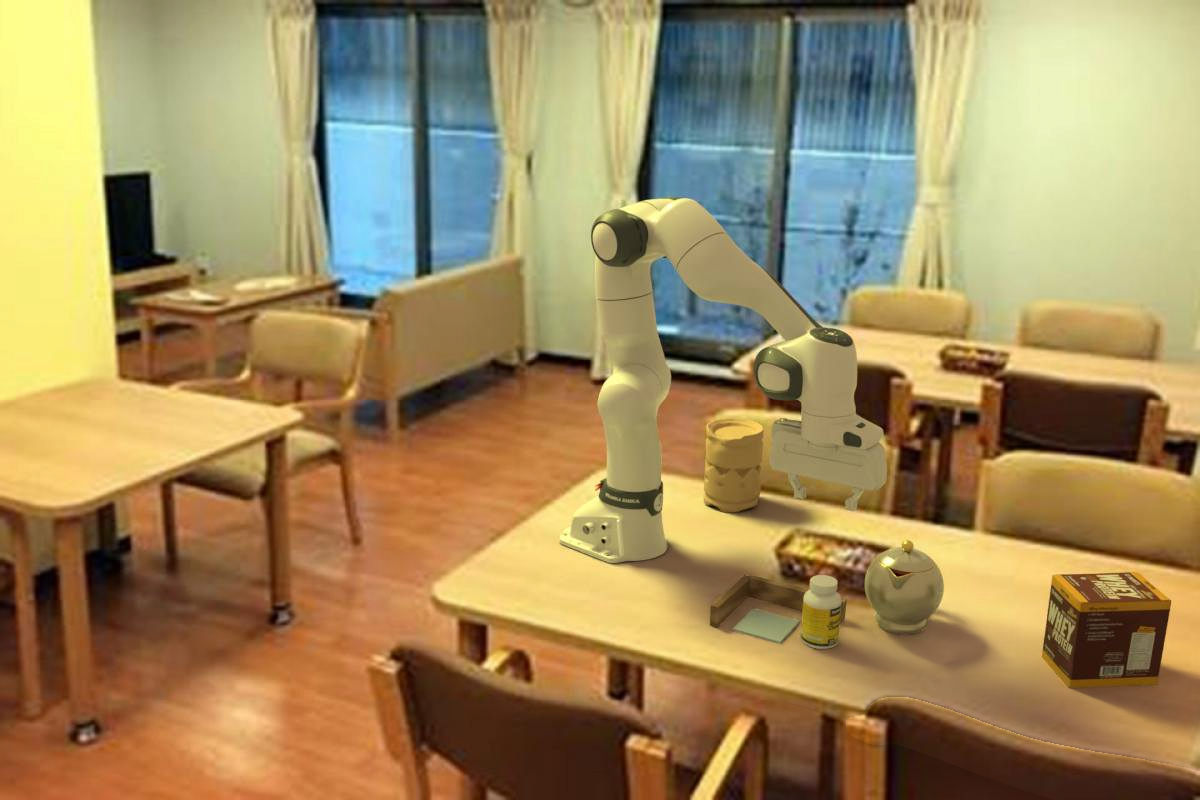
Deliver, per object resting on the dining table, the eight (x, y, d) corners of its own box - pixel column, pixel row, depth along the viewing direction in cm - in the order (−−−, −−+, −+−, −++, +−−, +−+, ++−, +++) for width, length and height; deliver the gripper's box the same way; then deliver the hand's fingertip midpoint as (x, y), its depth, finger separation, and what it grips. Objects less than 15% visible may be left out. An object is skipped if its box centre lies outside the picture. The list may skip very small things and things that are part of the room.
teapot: (930, 651, 202) (939, 564, 198) (852, 634, 208) (859, 549, 203) (949, 608, 218) (958, 526, 213) (876, 593, 224) (883, 513, 219)
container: (745, 517, 258) (749, 439, 253) (694, 505, 264) (696, 429, 259) (768, 498, 268) (772, 423, 263) (718, 488, 274) (721, 414, 269)
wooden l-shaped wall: (709, 625, 211) (710, 605, 209) (745, 592, 223) (746, 573, 222) (814, 655, 201) (815, 633, 200) (845, 618, 214) (846, 598, 212)
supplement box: (1039, 656, 201) (1051, 573, 197) (1126, 653, 203) (1139, 570, 198) (1067, 688, 192) (1080, 602, 187) (1158, 685, 193) (1173, 599, 188)
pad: (732, 630, 209) (732, 628, 209) (753, 610, 216) (753, 608, 216) (780, 643, 205) (780, 641, 204) (799, 622, 212) (799, 620, 212)
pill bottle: (822, 654, 201) (826, 592, 198) (792, 640, 206) (796, 579, 202) (846, 642, 205) (850, 581, 202) (816, 628, 210) (820, 569, 207)
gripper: (763, 420, 200) (761, 497, 204) (877, 441, 188) (873, 522, 192) (780, 411, 204) (779, 486, 208) (892, 431, 193) (888, 510, 197)
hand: (825, 503), depth 200 cm, fingers open, 8 cm apart
